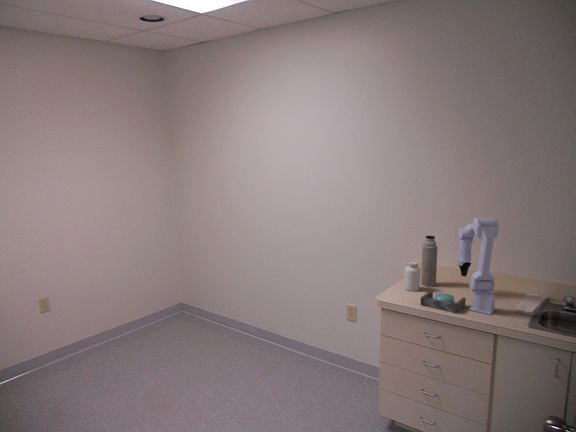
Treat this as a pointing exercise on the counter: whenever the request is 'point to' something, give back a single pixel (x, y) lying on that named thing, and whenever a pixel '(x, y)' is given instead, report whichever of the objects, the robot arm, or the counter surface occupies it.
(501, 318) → the counter surface
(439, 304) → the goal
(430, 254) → the thermos bottle
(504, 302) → the counter surface
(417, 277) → the pill bottle
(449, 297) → the teal flat rounded lump
